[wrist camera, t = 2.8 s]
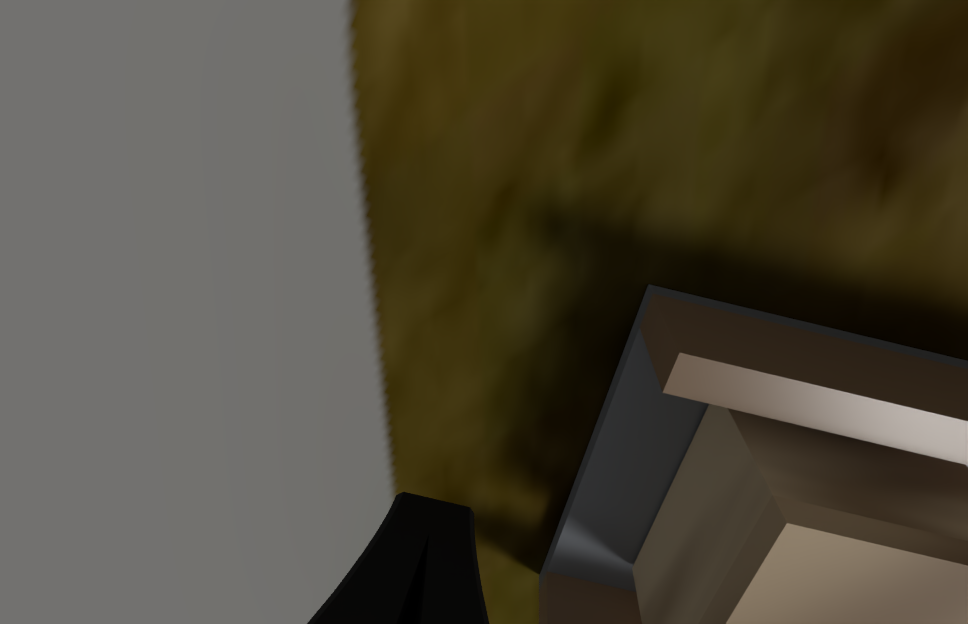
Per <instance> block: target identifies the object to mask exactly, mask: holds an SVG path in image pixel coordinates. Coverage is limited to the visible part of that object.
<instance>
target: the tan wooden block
mask: <svg viewBox="0 0 968 624" xmlns="http://www.w3.org/2000/svg"><path fill="white" fill-rule="evenodd" d="M632 570H633V576H634V581H635V587H636V593H637V599H638V604H639V610H640V616H641V621H642V624H968V467H967V466H966V465H965V464H961V463H956V462H952V461H948V460H944V459H940V458H935V457H931V456H927V455H923V454H918V453H914V452H910V451H906V450H902V449H897V448H893V447H889V446H885V445H881V444H876V443H872V442H868V441H864V440H860V439H855V438H851V437H847V436H843V435H839V434H834V433H830V432H826V431H822V430H818V429H813V428H809V427H805V426H801V425H797V424H792V423H788V422H784V421H780V420H776V419H771V418H767V417H763V416H759V415H755V414H750V413H746V412H742V411H738V410H734V409H729V408H725V407H721V406H717V405H712V404H709V406H708V408H707V410H706V412H705V414H704V416H703V418H702V421H701V423H700V425H699V427H698V429H697V431H696V433H695V435H694V438H693V440H692V442H691V444H690V446H689V448H688V450H687V452H686V455H685V457H684V459H683V461H682V463H681V465H680V467H679V469H678V472H677V474H676V476H675V478H674V480H673V482H672V484H671V486H670V489H669V491H668V493H667V495H666V497H665V499H664V501H663V503H662V506H661V508H660V510H659V512H658V514H657V516H656V518H655V520H654V523H653V525H652V527H651V529H650V531H649V533H648V535H647V538H646V540H645V542H644V544H643V546H642V548H641V550H640V552H639V555H638V557H637V559H636V561H635V563H634V565H633V567H632Z"/></svg>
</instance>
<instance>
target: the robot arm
mask: <svg viewBox="0 0 968 624" xmlns="http://www.w3.org/2000/svg"><path fill="white" fill-rule="evenodd" d="M307 624H489V621H488V616H487V611H486V606H485V602H484V597H483V592H482V586H481V581H480V574H479V568H478V561H477V553H476V545H475V532H474V513H473V511H472V510H471V508H470V507H466V506H462V505H458V504H454V503H449V502H445V501H441V500H436V499H432V498H428V497H423V496H419V495H415V494H411V493H406V492H402V493H400V494H398V495H396V497H395V500H394V502H393V504H392V506H391V508H390V510H389V512H388V514H387V515H386V517H385V519H384V521H383V522H382V524H381V526H380V527H379V529H378V531H377V532H376V534H375V535H374V537H373V538H372V540H371V541H370V543H369V544H368V546H367V547H366V549H365V550H364V552H363V553H362V555H361V556H360V557H359V558H358V560H357V561H356V563H355V564H354V565H353V567H352V568H351V570H350V571H349V572H348V573H347V575H346V576H345V578H344V579H343V580H342V582H341V583H340V584H339V585H338V587H337V588H336V589H335V591H334V592H333V593H332V594H331V596H330V597H329V598H328V599H327V600H326V602H325V603H324V604H323V605H322V606H321V608H320V609H319V610H318V611H317V613H316V614H315V615H314V616H313V617H312V619H311V620H310V621H309V622H308V623H307Z"/></svg>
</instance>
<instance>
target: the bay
mask: <svg viewBox="0 0 968 624" xmlns="http://www.w3.org/2000/svg"><path fill="white" fill-rule="evenodd" d="M709 404H712V405H717V406H721V407H725V408H729V409H734V410H738V411H742V412H746V413H750V414H755V415H759V416H763V417H767V418H771V419H776V420H780V421H784V422H788V423H792V424H797V425H801V426H805V427H809V428H813V429H818V430H822V431H826V432H830V433H834V434H839V435H843V436H847V437H851V438H855V439H860V440H864V441H868V442H872V443H876V444H881V445H885V446H889V447H893V448H897V449H902V450H906V451H910V452H914V453H918V454H923V455H927V456H931V457H935V458H940V459H944V460H948V461H952V462H956V463H961V464H965V465H966V466H967V467H968V361H966V360H962V359H958V358H954V357H950V356H945V355H941V354H937V353H933V352H929V351H925V350H920V349H916V348H912V347H908V346H904V345H900V344H895V343H891V342H887V341H883V340H879V339H875V338H870V337H866V336H862V335H858V334H854V333H850V332H845V331H841V330H837V329H833V328H829V327H825V326H820V325H816V324H812V323H808V322H804V321H800V320H795V319H791V318H787V317H783V316H779V315H775V314H770V313H766V312H762V311H758V310H754V309H750V308H746V307H741V306H737V305H733V304H729V303H725V302H721V301H716V300H712V299H708V298H704V297H700V296H696V295H691V294H687V293H683V292H679V291H675V290H671V289H666V288H662V287H658V286H654V285H650V284H648V287H647V289H646V292H645V295H644V297H643V300H642V303H641V305H640V308H639V311H638V313H637V316H636V319H635V321H634V324H633V327H632V329H631V332H630V335H629V337H628V340H627V343H626V345H625V348H624V351H623V353H622V356H621V359H620V361H619V364H618V367H617V369H616V372H615V375H614V377H613V380H612V383H611V385H610V388H609V391H608V394H607V396H606V399H605V402H604V404H603V407H602V410H601V412H600V415H599V418H598V420H597V423H596V426H595V428H594V431H593V434H592V436H591V439H590V442H589V444H588V447H587V450H586V452H585V455H584V458H583V460H582V463H581V466H580V468H579V471H578V474H577V476H576V479H575V482H574V484H573V487H572V490H571V492H570V495H569V498H568V500H567V503H566V506H565V508H564V511H563V514H562V517H561V519H560V522H559V525H558V527H557V530H556V533H555V535H554V538H553V541H552V543H551V546H550V549H549V551H548V554H547V557H546V559H545V562H544V565H543V567H542V570H541V573H540V575H539V624H642V621H641V616H640V610H639V604H638V599H637V593H636V587H635V581H634V576H633V570H632V567H633V565H634V563H635V561H636V559H637V557H638V555H639V552H640V550H641V548H642V546H643V544H644V542H645V540H646V538H647V535H648V533H649V531H650V529H651V527H652V525H653V523H654V520H655V518H656V516H657V514H658V512H659V510H660V508H661V506H662V503H663V501H664V499H665V497H666V495H667V493H668V491H669V489H670V486H671V484H672V482H673V480H674V478H675V476H676V474H677V472H678V469H679V467H680V465H681V463H682V461H683V459H684V457H685V455H686V452H687V450H688V448H689V446H690V444H691V442H692V440H693V438H694V435H695V433H696V431H697V429H698V427H699V425H700V423H701V421H702V418H703V416H704V414H705V412H706V410H707V408H708V406H709Z"/></svg>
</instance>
